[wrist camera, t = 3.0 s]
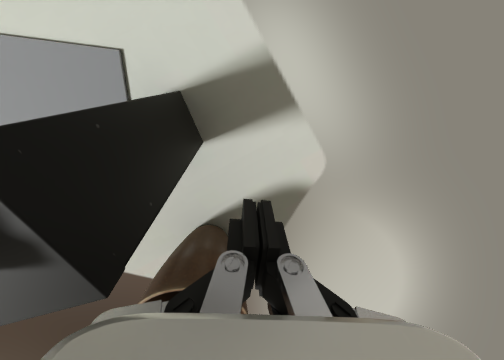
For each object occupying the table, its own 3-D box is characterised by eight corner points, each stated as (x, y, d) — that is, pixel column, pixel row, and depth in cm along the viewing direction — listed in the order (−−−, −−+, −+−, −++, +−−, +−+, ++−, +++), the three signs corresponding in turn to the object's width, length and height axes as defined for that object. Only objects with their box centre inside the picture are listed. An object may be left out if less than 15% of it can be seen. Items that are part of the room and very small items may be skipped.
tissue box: (180, 89, 28) (-425, 200, 3) (204, 142, 31) (44, 404, 6) (130, 108, 28) (-690, 327, 3) (158, 157, 32) (-145, 443, 7)
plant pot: (181, 197, 35) (139, 277, 21) (258, 220, 38) (267, 304, 24) (165, 254, 42) (124, 346, 27) (232, 270, 44) (227, 360, 30)
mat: (-146, 15, 23) (-152, 15, 22) (120, 50, 25) (118, 49, 25) (-47, 173, 32) (-51, 174, 31) (142, 187, 34) (141, 188, 34)
